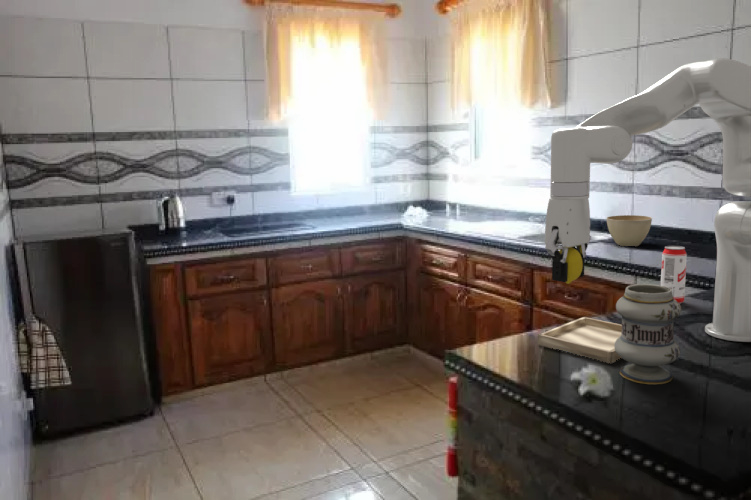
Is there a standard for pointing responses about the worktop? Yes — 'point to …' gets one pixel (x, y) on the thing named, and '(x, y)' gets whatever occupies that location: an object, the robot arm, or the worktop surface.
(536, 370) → the worktop surface
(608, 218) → the beige bowl
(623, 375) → the apothecary jar
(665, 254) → the beer can
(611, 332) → the birch tray
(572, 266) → the lemon
